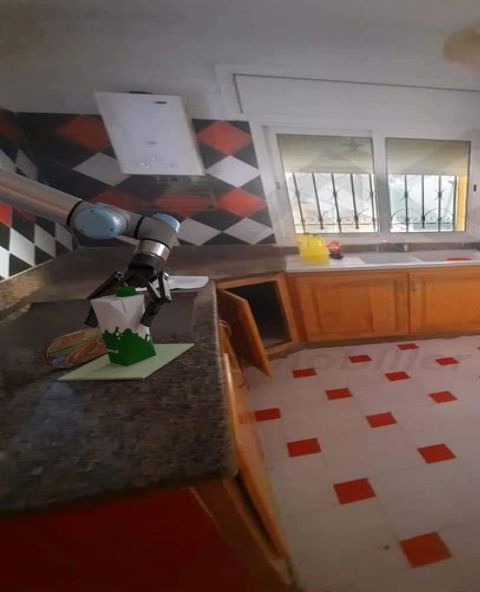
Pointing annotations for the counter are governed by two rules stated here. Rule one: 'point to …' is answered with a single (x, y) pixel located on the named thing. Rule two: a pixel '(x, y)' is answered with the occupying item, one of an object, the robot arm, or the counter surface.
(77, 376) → the mat
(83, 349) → the tin
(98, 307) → the soya milk
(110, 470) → the counter surface
